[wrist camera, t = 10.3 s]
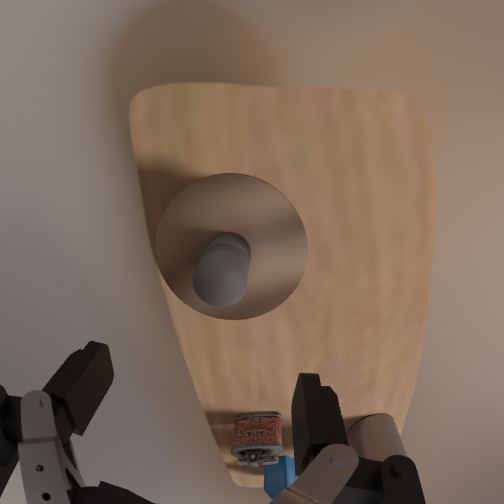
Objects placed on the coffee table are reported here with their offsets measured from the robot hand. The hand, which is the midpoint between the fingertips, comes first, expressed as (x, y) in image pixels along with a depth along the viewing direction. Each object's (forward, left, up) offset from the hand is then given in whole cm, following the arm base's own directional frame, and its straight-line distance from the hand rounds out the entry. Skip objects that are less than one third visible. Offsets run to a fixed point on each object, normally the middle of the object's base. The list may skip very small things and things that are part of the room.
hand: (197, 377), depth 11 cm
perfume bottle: (-46, +21, -25) cm, 57 cm away
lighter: (-29, +16, -25) cm, 42 cm away
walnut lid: (0, 0, -16) cm, 16 cm away
